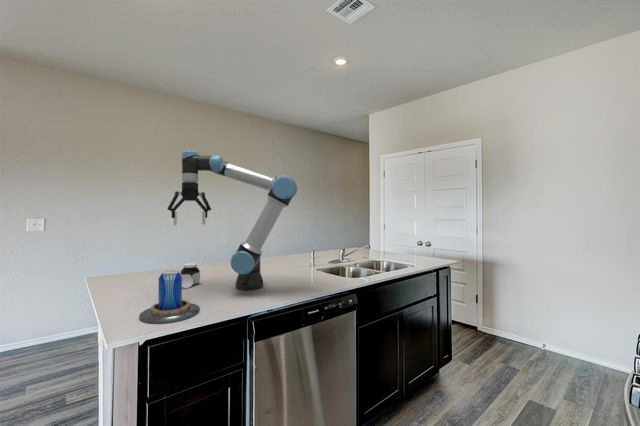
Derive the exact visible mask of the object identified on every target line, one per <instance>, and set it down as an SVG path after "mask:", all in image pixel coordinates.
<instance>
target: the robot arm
mask: <svg viewBox="0 0 640 426" xmlns="http://www.w3.org/2000/svg"><path fill="white" fill-rule="evenodd" d="M200 171H204V172H206V171H207V172H208V171H209V172H211V173H214V174H216V175H219V176H223V177H226V178H229V179H233V180H235V181H239V182H242V183H245V184H247V185H249V186H253V187H256V188H259V189H263V190H266V191H268V193H267V199H268V200H267V202H266V204H264V207H263V209H262V210H261V212H260V214H259V216H258V218H257V220H256V222H255V224H253V226H252V229H251V230H250V232H249V235H248V236H247V237H246V240H245V241H242V242H241V243H240V245H238V248H237V250H236V252H235V253H233V254H232V256H231V259H230V267H231V269H232V270H233V272H235V273H236V274H237V277H236V279H235V280H236V281H235V283H234V284H235V285H234V287H235V289H237V290H240V291H241V290H243V291H252V290H259V289H261V288H262V289H263V287H264V279H263V276H262V274H261V273H262V272H261V256H262V253H263V252H262V248H263V246H264V244H265V242H266V240H267V238H268V237H269V235H270V234H271V231H272V229H273V227H274V226H275V224H276V222H277V220H278V219H279V216H280V215H281V213H282V211H283V209H284V208H287V207H289V204H290V202H292V199H293V198H294V197H295V195H296V194H297V192H298V186H297V184H296V183H297V182H296V181H295V180H294V179H293V178H292V177H291V176H289V175H285V174H283V175H279V176H276V175H275V176H273V177H272V176H270V175H267V174H264V173H261V172H257V171H255V170H251V169H248V168H245V167H242V166H238V165H235V164H233V163H229V162H226V161H224V159H223V156H220V155H200V154H199V152H198V151H195V150H183V151H182V154H181V181H182V182H181V191H177V190H176V191H175V192H174V196H173V197H172V198H171V202H170V203H169V204H168V207H167V210H168V211H170V212H171V218H172V219H173V225H174V226H178V212H177V211H176V210H178V209H179V207H180V206H181V205H182V204H183V203H184V202H185V201H186V202H194V201H195V202H196V204H197V205H198V206H199V207H200V208H201V209H202V213H201V215H202V217H201V218H202V219H201V221H202V223H201V224H202V225H206V219H207V218H208V212H209V211H212V208H211V206H210V203H209V202H208V200H207V197H206V195H205V193H206V192H199V183H198V182H199V172H200ZM180 196H182V197H181V199H180V200H178V202H177V199H178V197H180ZM199 197H200V198H201V200H202V201H203V203H202V201H201V200H200V199H199ZM176 202H177V203H176ZM175 203H176V204H175ZM174 204H175V205H174Z"/></svg>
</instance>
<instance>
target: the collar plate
mask: <svg viewBox="0 0 640 426" xmlns="http://www.w3.org/2000/svg"><path fill="white" fill-rule="evenodd" d="M200 310H201V307H200V306H199V305H198V304H196V303H191V302H190V301H189V300H184V299H182V307H181V308H177V309H171V310H159V302H156V303H154V304H153V305H151V306H150V308H146V309H144V310H143V311H142V312H141V313H139V315H138V316H139V317H138V319H139V321H140V322H142V323H146V324H150V325H151V324H153V325H159V324H160V325H164V324H173V323H178V322H182V321H185V320H188V319H191V318H194V317H196V316H197V315H198V314H199V313H200Z"/></svg>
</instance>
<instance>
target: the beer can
mask: <svg viewBox="0 0 640 426" xmlns="http://www.w3.org/2000/svg"><path fill="white" fill-rule="evenodd" d="M182 289H183V287H182V276H181V275H180V270H176V269H175V270H170V269H169V270H164V271H161V273H160V276H159V277H158V303H159V310H171V309H177V308H181V307H182V300H183V298H182V295H183V293H182V291H183V290H182Z"/></svg>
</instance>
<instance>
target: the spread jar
mask: <svg viewBox="0 0 640 426" xmlns="http://www.w3.org/2000/svg"><path fill="white" fill-rule="evenodd" d="M197 265H198V264H197V263H196V262H195V263H194V262H187V263H184V264H183V267H182V269H181V270H180V271H179V273H180V275H181V276H182V289H183V288H184V289H189V288H191V287H194V286H196V285H198V284H199V283H200V282H201V271H200V269H199V267H198V266H197Z"/></svg>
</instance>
